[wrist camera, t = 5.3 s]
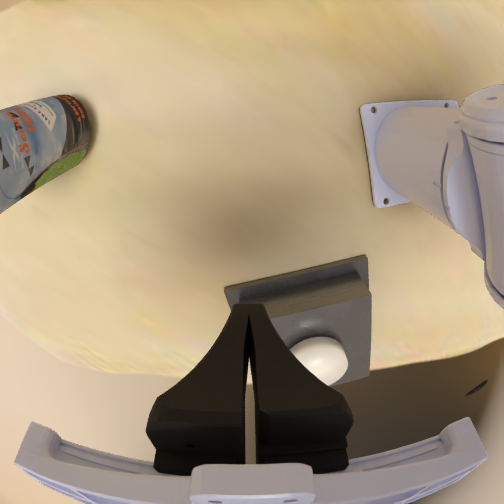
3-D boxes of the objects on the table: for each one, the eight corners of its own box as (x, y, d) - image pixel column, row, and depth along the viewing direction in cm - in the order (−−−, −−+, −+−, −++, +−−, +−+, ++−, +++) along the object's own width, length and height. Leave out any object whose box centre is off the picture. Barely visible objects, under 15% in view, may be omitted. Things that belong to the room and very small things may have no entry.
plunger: (331, 302, 24) (347, 342, 20) (335, 342, 26) (348, 381, 22) (275, 315, 25) (280, 357, 20) (285, 354, 27) (290, 394, 22)
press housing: (365, 254, 23) (383, 279, 19) (366, 351, 28) (377, 378, 24) (224, 287, 24) (221, 317, 20) (257, 376, 29) (259, 406, 26)
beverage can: (112, 113, 17) (-8, 128, 7) (74, 194, 20) (-28, 264, 9) (58, 83, 16) (-58, 87, 5) (27, 160, 18) (-76, 207, 8)
